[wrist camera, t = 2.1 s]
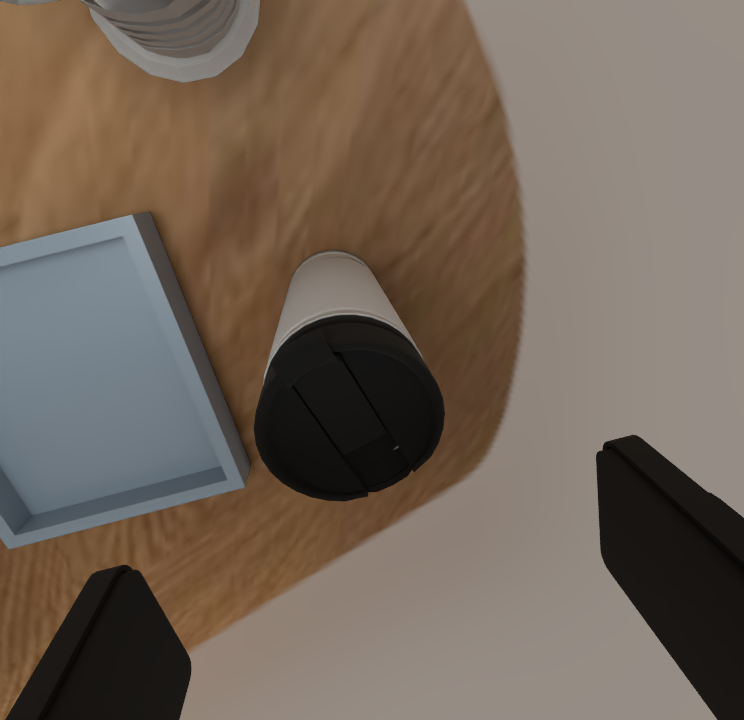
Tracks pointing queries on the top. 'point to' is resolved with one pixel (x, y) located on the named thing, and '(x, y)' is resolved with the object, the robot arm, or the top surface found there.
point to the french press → (175, 33)
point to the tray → (104, 386)
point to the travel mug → (344, 387)
